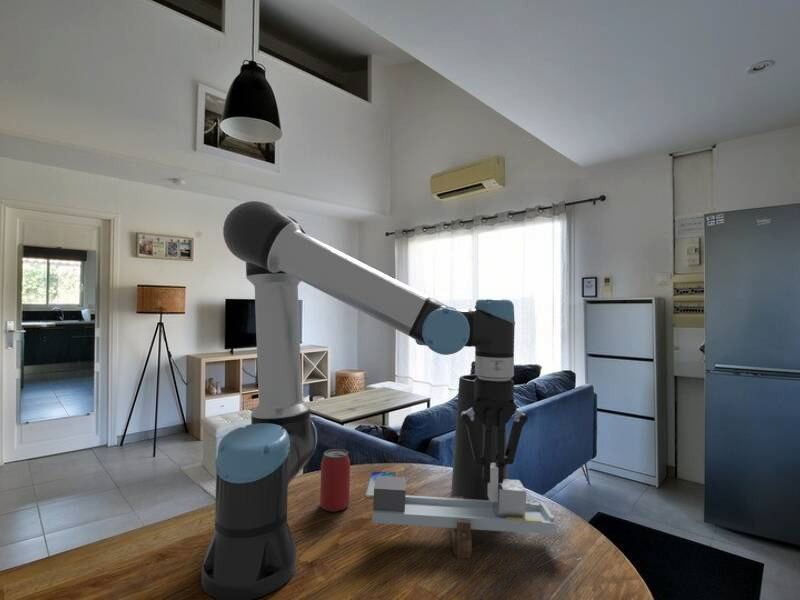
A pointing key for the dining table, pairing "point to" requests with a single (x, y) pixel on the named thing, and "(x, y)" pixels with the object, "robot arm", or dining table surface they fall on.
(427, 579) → the dining table surface
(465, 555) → the fulcrum
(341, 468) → the beer can
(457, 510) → the beam
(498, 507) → the block
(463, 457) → the vase
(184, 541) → the dining table surface
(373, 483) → the smartphone
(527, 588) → the dining table surface
